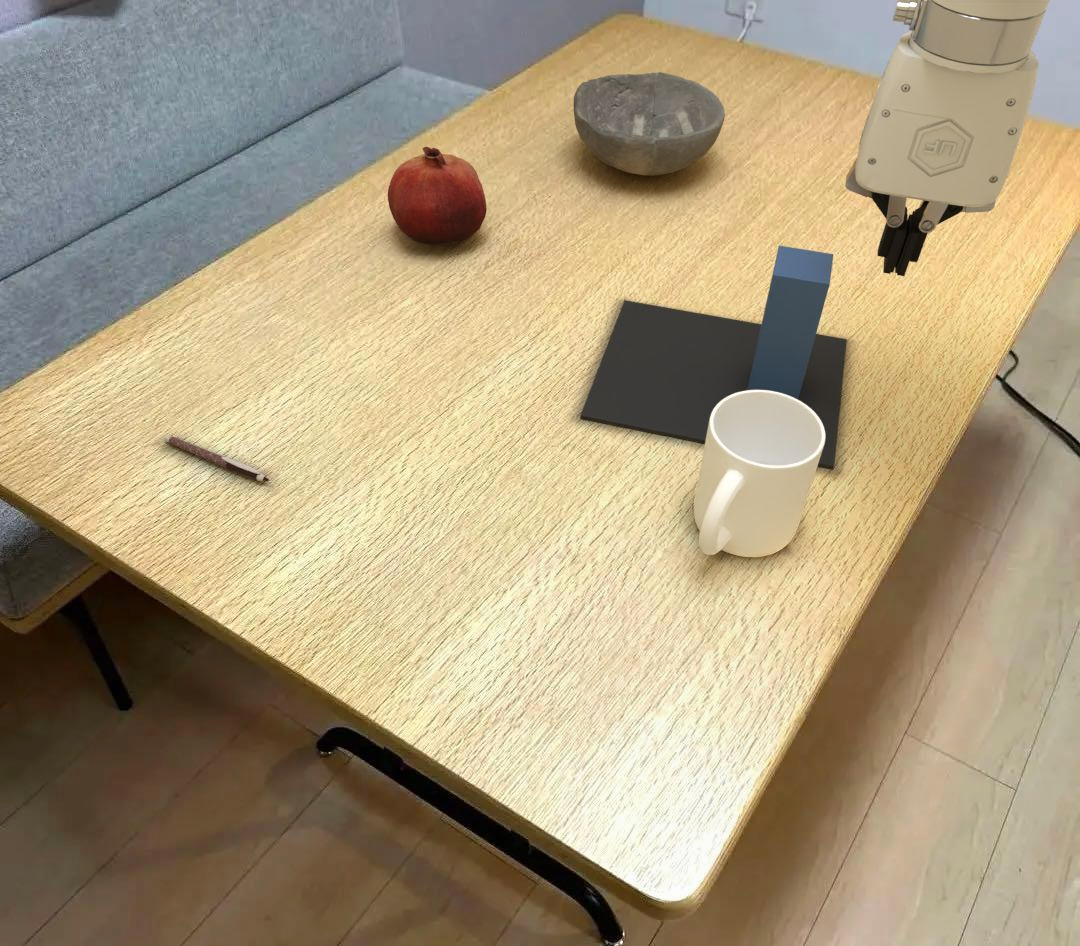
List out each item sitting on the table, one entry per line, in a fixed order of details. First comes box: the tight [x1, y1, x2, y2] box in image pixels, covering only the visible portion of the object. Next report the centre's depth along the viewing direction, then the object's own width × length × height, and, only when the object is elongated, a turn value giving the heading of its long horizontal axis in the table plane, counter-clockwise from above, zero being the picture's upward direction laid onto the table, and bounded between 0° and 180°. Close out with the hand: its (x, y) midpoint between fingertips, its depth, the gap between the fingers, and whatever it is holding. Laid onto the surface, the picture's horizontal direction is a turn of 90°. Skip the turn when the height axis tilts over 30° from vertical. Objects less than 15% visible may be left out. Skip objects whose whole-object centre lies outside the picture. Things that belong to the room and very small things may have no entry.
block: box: [747, 245, 834, 400], centre depth 82 cm, size 4×4×13 cm
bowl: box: [573, 71, 726, 176], centre depth 113 cm, size 18×18×8 cm
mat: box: [579, 299, 848, 470], centre depth 87 cm, size 22×18×1 cm
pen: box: [162, 435, 270, 482], centre depth 79 cm, size 11×1×1 cm, turn 63°
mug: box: [693, 390, 825, 558], centre depth 71 cm, size 12×8×10 cm
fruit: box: [387, 146, 488, 246], centre depth 100 cm, size 11×10×10 cm
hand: (894, 264), depth 75 cm, fingers closed
